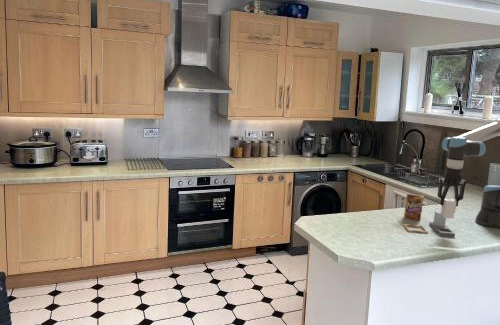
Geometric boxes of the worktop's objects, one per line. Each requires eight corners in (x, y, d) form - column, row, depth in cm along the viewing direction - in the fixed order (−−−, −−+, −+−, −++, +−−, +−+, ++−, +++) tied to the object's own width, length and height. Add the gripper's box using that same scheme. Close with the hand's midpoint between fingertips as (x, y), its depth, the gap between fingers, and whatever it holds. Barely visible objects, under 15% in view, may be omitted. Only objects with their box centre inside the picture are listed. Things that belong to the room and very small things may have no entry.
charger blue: (441, 227, 228) (443, 211, 226) (444, 229, 223) (446, 213, 222) (432, 226, 228) (435, 210, 227) (435, 229, 224) (437, 212, 222)
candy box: (403, 219, 241) (406, 194, 239) (404, 217, 245) (407, 192, 242) (419, 222, 237) (423, 196, 234) (420, 220, 241) (424, 195, 238)
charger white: (450, 215, 217) (452, 198, 216) (453, 218, 213) (455, 201, 211) (441, 215, 218) (443, 198, 216) (444, 217, 213) (446, 200, 212)
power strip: (425, 222, 238) (425, 216, 237) (437, 224, 237) (438, 217, 236) (439, 237, 213) (440, 231, 212) (454, 239, 212) (455, 232, 212)
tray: (421, 229, 225) (422, 225, 225) (427, 235, 215) (428, 231, 215) (402, 227, 226) (403, 223, 226) (407, 233, 216) (408, 229, 216)
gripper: (469, 167, 214) (462, 211, 218) (434, 165, 215) (428, 208, 219) (475, 170, 206) (468, 215, 210) (438, 167, 208) (432, 212, 212)
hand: (447, 211), depth 215 cm, fingers closed on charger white, 4 cm apart
